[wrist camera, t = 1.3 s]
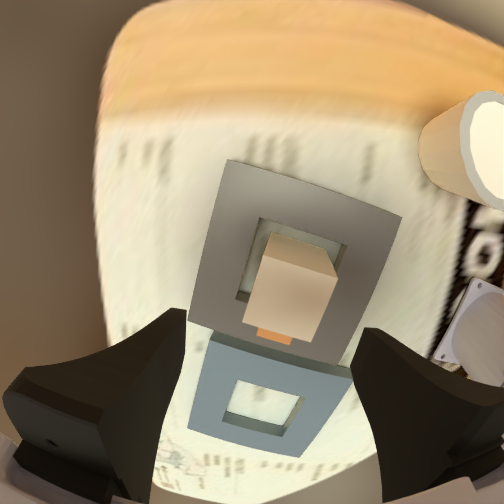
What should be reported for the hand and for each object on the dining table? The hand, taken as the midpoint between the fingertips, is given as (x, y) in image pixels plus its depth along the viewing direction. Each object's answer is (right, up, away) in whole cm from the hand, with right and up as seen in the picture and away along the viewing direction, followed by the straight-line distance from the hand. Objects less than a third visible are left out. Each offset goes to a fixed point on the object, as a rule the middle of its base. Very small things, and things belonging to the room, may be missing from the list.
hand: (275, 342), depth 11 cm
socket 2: (0, -10, +13) cm, 17 cm away
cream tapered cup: (+14, +11, +6) cm, 18 cm away
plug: (+2, +3, +10) cm, 10 cm away
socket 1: (+2, +2, +10) cm, 10 cm away
